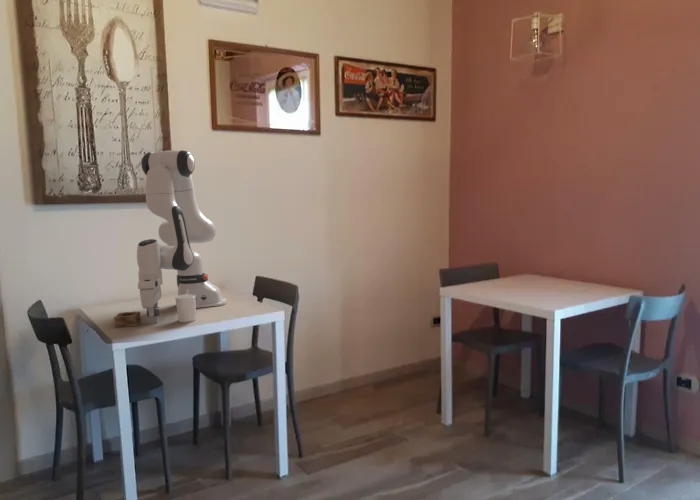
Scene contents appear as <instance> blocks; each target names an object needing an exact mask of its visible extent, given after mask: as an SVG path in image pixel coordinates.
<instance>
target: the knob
mask: <svg viewBox="0 0 700 500" xmlns="http://www.w3.org/2000/svg"><path fill="white" fill-rule="evenodd" d="M153 309H154V316H153V317H150V316H149V312H148V309H147V308H146V317H148V322H149V325H151V324H158V323H159V322H160V321H159V316H160V315H161V313H160V306H158V307H154V308H153Z"/></svg>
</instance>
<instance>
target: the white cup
mask: <svg viewBox="0 0 700 500" xmlns="http://www.w3.org/2000/svg"><path fill="white" fill-rule="evenodd" d="M175 306H176V312H177V313H176V314H177V320H178V322H179V323H191V322H195V321H196V320H197V318H196V317H197V315H196V312H197V308H196V295H193V294H185V295H179V296H178V295H176V296H175Z"/></svg>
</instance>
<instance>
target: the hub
mask: <svg viewBox="0 0 700 500" xmlns="http://www.w3.org/2000/svg"><path fill="white" fill-rule="evenodd" d="M141 316H142V315H141V311H126V312H119V313H118V314H117V315H115V316H114V318H113V319H114V328H127V327H128V328H129V327H137V326H138V325H139V323H140V322H141V320H142V319H141V318H142V317H141Z"/></svg>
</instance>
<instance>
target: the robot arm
mask: <svg viewBox="0 0 700 500" xmlns="http://www.w3.org/2000/svg"><path fill="white" fill-rule="evenodd" d="M140 163H141V164H140V165H141V169H142V171H143V174H144V175H145V176H146V179H145V201H146V206H147V209H148V210H149V211H150V212H151V213H152V214H153V215H156V216H157V217H160V218H162V219H163V220H165V221H163V222H161V224H160V225H159V227H158V237H159V238H160V240H161V241H162V242H163V243H164V244H166V245H164V244H161V243H160V242H158V240H157V239H154V238H152V239H144V240H141V241H140V242H138V244H137V247H136V248H137V249H136V261H137V263H136V264H137V267H138V273H137V274H138V283H137V289H138V290H139V296H140V302H141V306H142V309H146V310H147V309H148V312H149V316H150V317H153V316H154V309H153V308H154V307H159V305H158V304H159V301H160V300H161V299H162V285H163V283H164V282H163V273H162V272H163V271H162V270H174V271H175V270H176V272H177V273H176V286H177V296H179V295H185V294H193V295H196V309H199V308H208V307H209V308H211V307H218V306H219V307H220V306H223V305H225V304H227V301H228V299H227V297H224V296H222V293H221V292H222V291H221V290H220V288H219V287H218V286H217V285H215V284H213V283H212V282H211V281H209V277H208V274H207V273H205V272H203V271H204V270H203V257H202V256H201V254H200V253H199V252H197V251H195V250H193V248H192V247H191V245H190V244H204V243H209V242H213V240H214V238H215V236H216V234H217V233H216V232H217V230H216V225H215V224H214V223H213V221H212V220H210V219H209V218H207V217H206V216H205V214H203V213H202V211H201V210H200V208H199V205H198V202H197V198H196V193H195V191H196V190H195V186H194V181H193V177H192V174H193V173H194V171H195V168H196V167H195V166H196V162H195V157H194V155H193V154H192V153H191V152H190V151H188V150H173V149H172V150H161V151H155V152H154V151H151V152H147V153H145V154H144V155H143V157H142V159H141V162H140Z"/></svg>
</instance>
